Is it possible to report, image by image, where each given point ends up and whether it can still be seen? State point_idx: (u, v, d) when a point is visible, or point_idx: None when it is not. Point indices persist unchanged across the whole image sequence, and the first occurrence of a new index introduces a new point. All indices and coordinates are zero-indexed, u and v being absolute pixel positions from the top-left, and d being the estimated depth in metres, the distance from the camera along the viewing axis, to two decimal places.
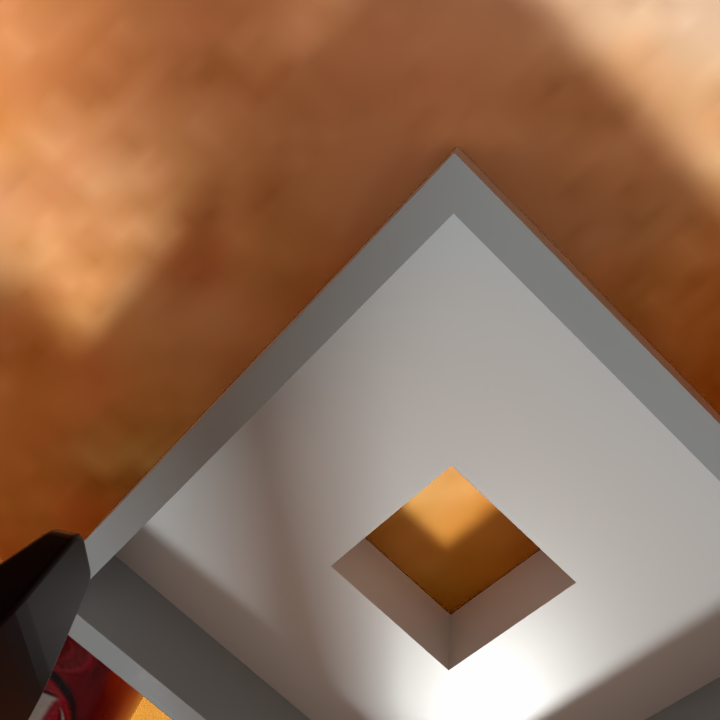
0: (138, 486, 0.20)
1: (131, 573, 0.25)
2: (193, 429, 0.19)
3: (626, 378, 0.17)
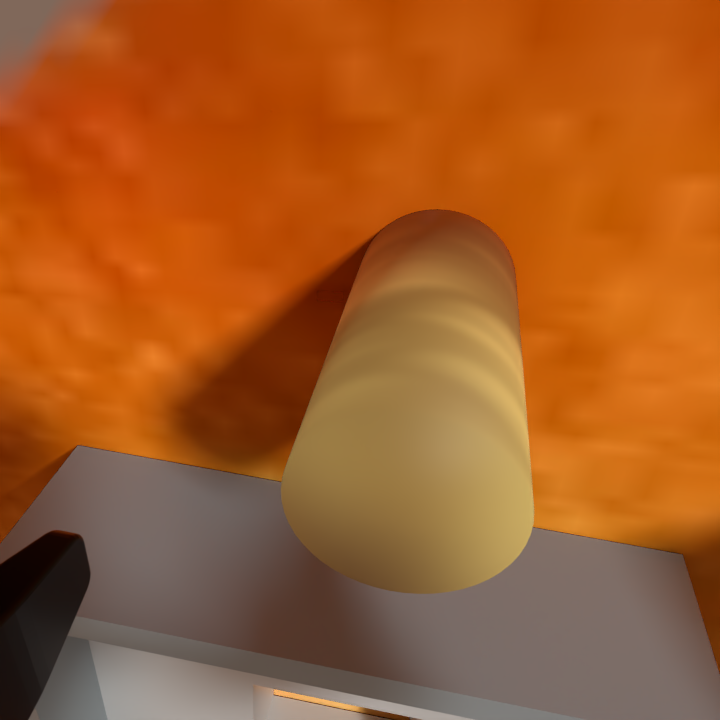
0: None
1: None
2: None
3: None
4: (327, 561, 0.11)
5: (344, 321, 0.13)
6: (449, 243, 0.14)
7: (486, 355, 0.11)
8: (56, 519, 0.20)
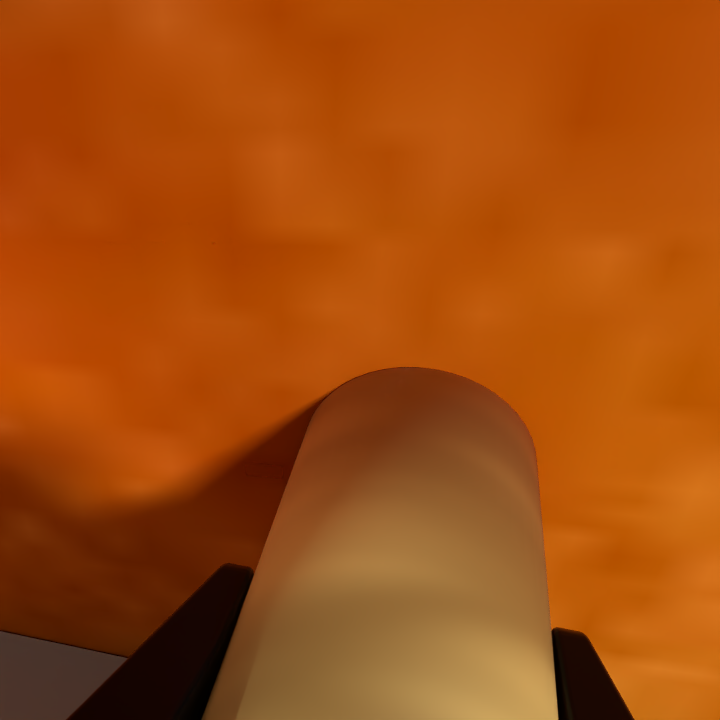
0: None
1: None
2: None
3: None
4: None
5: (246, 620, 0.08)
6: (431, 454, 0.09)
7: None
8: None
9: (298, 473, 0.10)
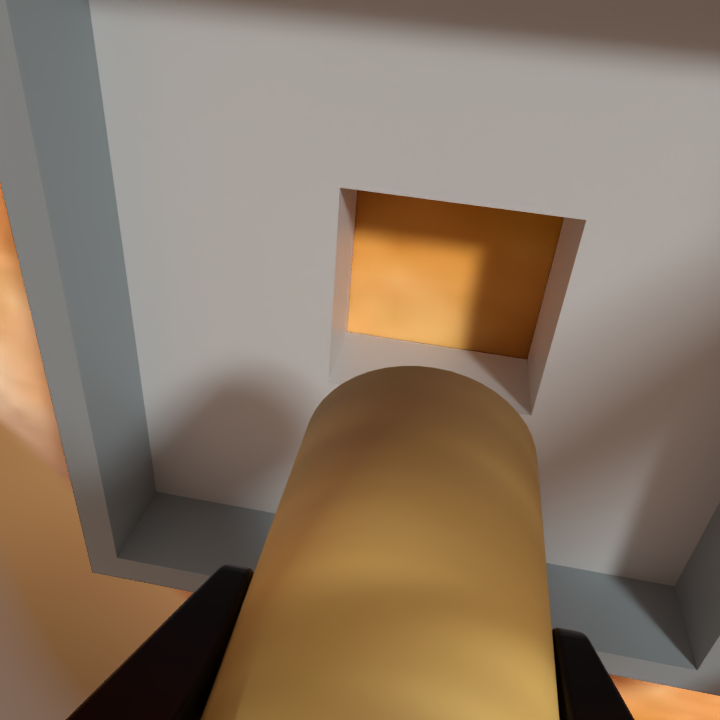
0: None
1: (687, 567, 0.21)
2: None
3: (81, 407, 0.18)
4: None
5: (246, 618, 0.08)
6: (432, 452, 0.09)
7: None
8: None
9: (298, 471, 0.10)
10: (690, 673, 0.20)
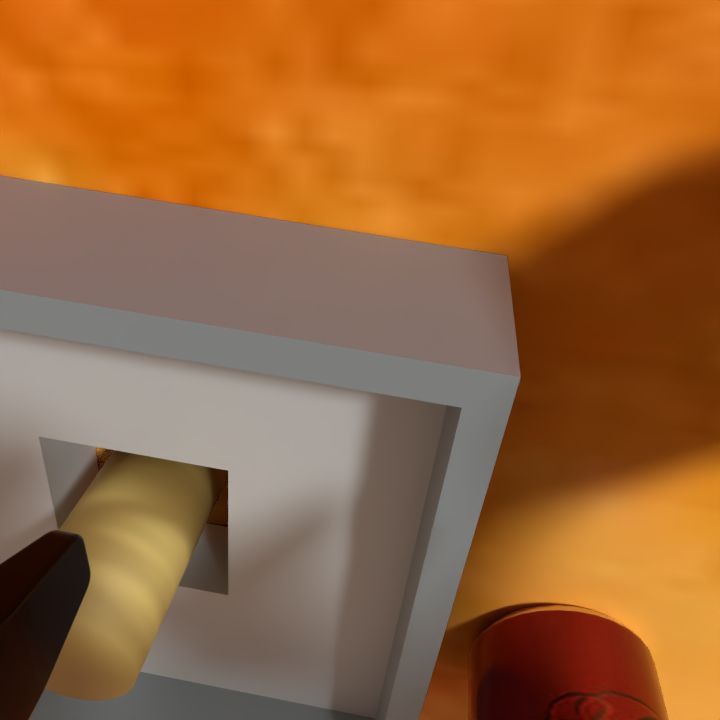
0: None
1: (378, 706, 0.26)
2: None
3: None
4: None
5: (68, 516, 0.20)
6: None
7: (128, 556, 0.19)
8: None
9: None
10: None
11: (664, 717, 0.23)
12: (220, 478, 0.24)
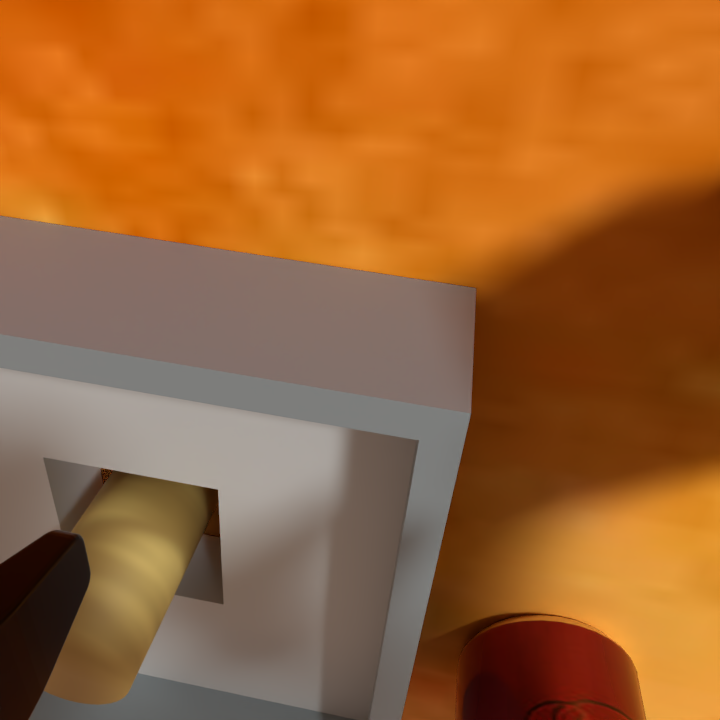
0: None
1: (369, 710, 0.27)
2: None
3: None
4: None
5: (71, 531, 0.22)
6: None
7: (124, 571, 0.20)
8: None
9: (106, 480, 0.24)
10: None
11: None
12: (215, 493, 0.25)
